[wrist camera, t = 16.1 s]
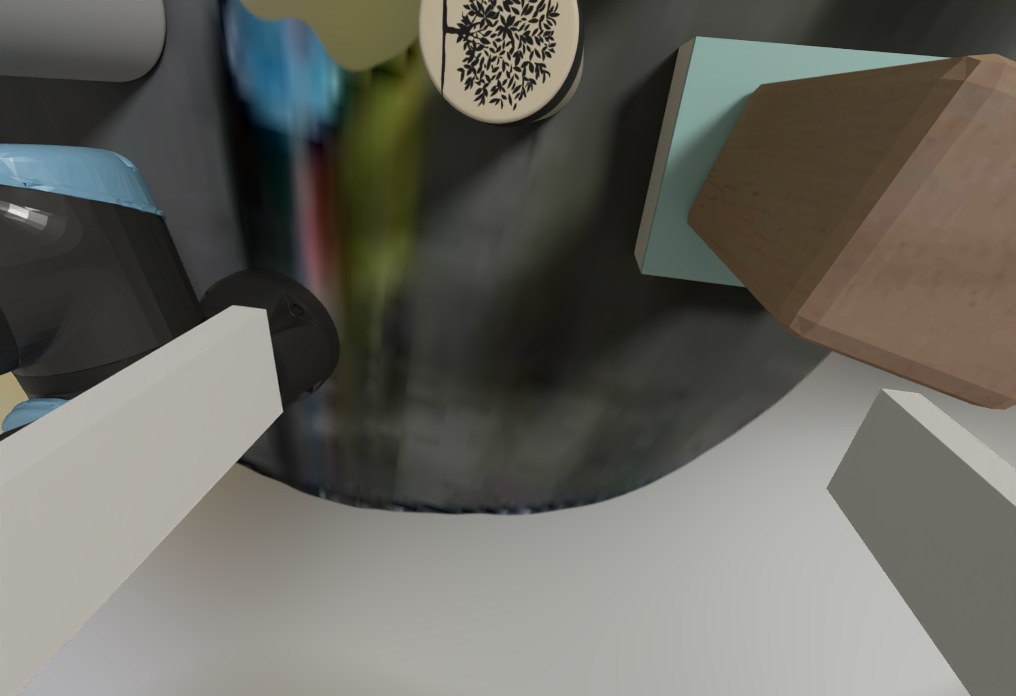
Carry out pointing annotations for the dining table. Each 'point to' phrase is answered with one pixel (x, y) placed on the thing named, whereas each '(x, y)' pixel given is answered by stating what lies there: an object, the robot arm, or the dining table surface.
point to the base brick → (719, 137)
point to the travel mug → (503, 56)
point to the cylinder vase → (81, 38)
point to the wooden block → (881, 218)
